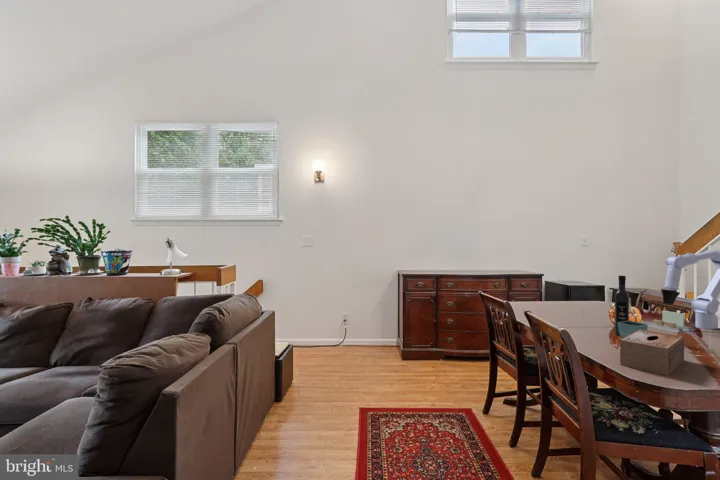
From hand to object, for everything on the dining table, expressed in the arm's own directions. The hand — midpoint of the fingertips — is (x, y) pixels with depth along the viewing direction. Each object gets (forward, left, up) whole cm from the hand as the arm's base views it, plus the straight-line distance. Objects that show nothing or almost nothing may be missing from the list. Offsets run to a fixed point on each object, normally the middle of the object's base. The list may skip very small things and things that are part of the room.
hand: (668, 303), depth 196 cm
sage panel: (-4, 0, -13) cm, 13 cm away
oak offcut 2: (+3, +3, -13) cm, 13 cm away
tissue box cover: (+62, +34, -14) cm, 72 cm away
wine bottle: (+33, 0, -14) cm, 36 cm away
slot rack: (-1, 0, -14) cm, 14 cm away
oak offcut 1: (+3, -3, -13) cm, 13 cm away
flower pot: (+41, +11, -14) cm, 45 cm away
